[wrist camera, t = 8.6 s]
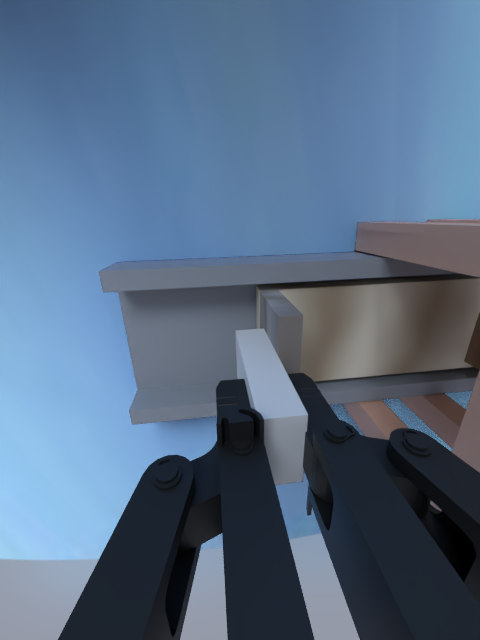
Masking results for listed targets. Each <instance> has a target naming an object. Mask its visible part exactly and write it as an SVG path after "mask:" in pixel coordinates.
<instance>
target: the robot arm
mask: <svg viewBox="0 0 480 640" xmlns="http://www.w3.org/2000/svg"><path fill="white" fill-rule="evenodd" d="M235 331H236V359H237V378H238V379H233V380H222V381H220V382H219V384H218V386H217V387H216V405H217V424H216V425H217V442H216V444H215V446H214V447H213V448H212V449H211V450H210V451H209V452H208V453H207V454H205V455H203V456H201V457H199V458H197V459H195V460H192V461H189V460H188V459H187V458H185V457H183V456H179V455H168V456H165V457H162V458H160V459H157V460H156V461H155V462H153V463H152V464H151V465H149V467H148V468H147V469H146V471H145V472H144V473H143V475H142V477H141V479H140V481H139V483H138V485H137V487H136V489H135V491H134V493H133V495H132V497H131V499H130V501H129V502H128V504H127V506H126V508H125V510H124V512H123V514H122V516H121V518H120V520H119V522H118V524H117V526H116V528H115V530H114V532H113V534H112V536H111V537H110V539H109V541H108V543H107V545H106V547H105V549H104V551H103V553H102V555H101V557H100V559H99V561H98V563H97V565H96V567H95V569H94V571H93V573H92V575H91V576H90V578H89V580H88V582H87V584H86V586H85V588H84V590H83V592H82V594H81V596H80V598H79V600H78V602H77V604H76V606H75V608H74V609H73V612H72V613H71V615H70V617H69V619H68V621H67V623H66V625H65V627H64V629H63V631H62V633H61V635H60V637H59V639H58V640H180V636H181V632H182V628H183V623H184V619H185V615H186V610H187V606H188V601H189V597H190V593H191V588H192V583H193V579H194V575H195V570H196V566H197V561H198V557H199V553H200V548H201V544H203V543H205V542H206V541H208V540H210V539H212V538H214V537H215V536H217V535H219V534H221V533H222V534H223V552H224V553H223V554H224V573H225V594H226V613H227V633H228V640H314V636H313V633H312V628H311V624H310V620H309V617H308V613H307V609H306V605H305V601H304V597H303V593H302V589H301V585H300V581H299V577H298V573H297V570H296V566H295V562H294V558H293V554H292V550H291V546H290V543H289V538H288V534H287V530H286V527H285V523H284V519H283V515H282V511H281V507H280V503H279V499H278V495H277V491H276V487H275V485H280V484H288V483H296V482H303V473H304V471H305V474H306V476H307V479H308V482H309V486H308V497H307V515H311V511H312V508H313V511H314V513H315V516H316V519H317V522H318V524H319V527H320V530H321V533H322V536H323V538H324V541H325V544H326V547H327V549H328V552H329V555H330V558H331V560H332V563H333V566H334V569H335V571H336V574H337V577H338V579H339V582H340V585H341V588H342V591H343V593H344V596H345V599H346V602H347V605H348V608H349V610H350V613H351V616H352V619H353V621H354V624H355V627H356V630H357V633H358V635H359V638H360V640H480V473H479V472H478V471H477V470H475V469H474V468H473V467H471V466H470V465H468V464H467V463H466V462H464V461H463V460H462V459H460V458H459V457H458V456H456V455H455V454H453V453H452V452H451V451H449V450H448V449H447V448H445V447H444V446H443V445H441V444H440V443H438V442H437V441H436V440H434V439H433V438H431V437H430V436H428V435H426V434H425V433H422V432H420V431H417V430H414V429H408V428H399V429H395V430H394V431H392V432H391V434H390V437H389V440H386V439H379V438H372V437H367V436H362V435H360V434H359V433H358V431H357V430H356V429H355V428H354V427H353V426H352V425H350V424H348V423H346V422H345V421H342V420H339V419H338V418H337V416H336V415H335V413H334V412H333V410H332V409H331V407H330V405H329V404H328V402H327V401H326V399H325V398H324V396H323V395H322V393H321V392H320V390H319V389H318V388H317V386H316V384H315V382H314V381H313V379H312V378H310V377H309V376H307V375H306V374H304V373H292V374H287V372H286V371H285V369H284V367H283V365H282V363H281V361H280V359H279V357H278V355H277V353H276V351H275V349H274V347H273V345H272V343H271V341H270V339H269V337H268V336H267V334H266V332H265V330H264V328H263V329H248V330H235ZM431 501H432V502H433V503H435V504H436V505H437V506H438V507H439V508H440V509H441V510H442V511H440V510H438V509H436V508H435V507H433V506H432V505H431V504H430V502H431Z"/></svg>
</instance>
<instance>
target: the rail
mask: <svg viewBox="0 0 480 640" xmlns="http://www.w3.org/2000/svg"><path fill="white" fill-rule="evenodd" d="M459 274H461V273H457V272H452V271H448V270H443V269H438V268H434V267H429V266H425V265H420V264H416V263H411V262H407V261H402V260H397V259H393V258H388V257H384V256H379V255H375V254H370V253H366V252H339V253H316V254H293V255H270V256H248V257H225V258H202V259H179V260H156V261H133V262H117V263H115V264H113V265H111V266H109V267H107V268H105V269H103V270H101V271H99V275H100V280H101V284H102V289H103V292H118V293H119V298H120V303H121V308H122V313H123V319H124V324H125V329H126V334H127V339H128V344H129V349H130V354H131V359H132V364H133V369H134V374H135V379H136V384H137V389H138V390H137V393H136V395H135V398H134V400H133V402H132V405H131V407H130V410H129V413H130V417H131V422H132V425H133V424H143V423H153V422H163V421H173V420H183V419H193V418H203V417H213V416H217V405H216V387H217V386H218V384H219V382H220V381H222V380H233V379H238V378H237V359H236V331H235V330H248V329H256V286H257V285H275V284H294V283H312V282H331V281H349V280H367V279H386V278H404V277H422V276H441V275H459ZM479 371H480V370H479V369H477V368H475V367H466V368H455V369H444V370H433V371H422V372H411V373H400V374H389V375H379V376H368V377H357V378H346V379H335V380H324V381H314V382H315V384H316V386H317V388H318V389H319V390H320V392H321V393H322V395H323V396H324V398H325V399H326V401H327V402H328V404H329V405H333V404H343V403H353V402H363V401H373V400H383V399H393V398H403V397H413V396H423V395H433V394H443V393H453V392H463V391H472V390H473V388H474V385H475V382H476V379H477V377H478V374H479Z"/></svg>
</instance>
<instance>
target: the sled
mask: <svg viewBox="0 0 480 640" xmlns="http://www.w3.org/2000/svg"><path fill="white" fill-rule="evenodd" d="M263 328H264V330H265V332H266V334H267V336H268V337H269V339H270V341H271V343H272V345H273V347H274V349H275V351H276V353H277V355H278V357H279V359H280V361H281V363H282V365H283V367H284V369H285V371H286V372H287V374H292V373H304V374H306V375H307V376H309V377H310V378H312V379H313V381H324V380H335V379H346V378H357V377H368V376H379V375H389V374H400V373H411V372H422V371H433V370H444V369H455V368H466V367H475V368H477V369H479V370H480V278H479V277H475V276H470V275H466V274H459V275H441V276H422V277H404V278H386V279H367V280H349V281H331V282H312V283H294V284H275V285H257V286H256V329H263Z"/></svg>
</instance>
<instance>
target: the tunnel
mask: <svg viewBox="0 0 480 640" xmlns="http://www.w3.org/2000/svg"><path fill="white" fill-rule="evenodd" d="M355 250H356V251H361V252H366V253H370V254H375V255H379V256H384V257H388V258H393V259H397V260H402V261H407V262H411V263H416V264H420V265H425V266H429V267H434V268H438V269H443V270H448V271H452V272H457V273H461V274H466V275H470V276H475V277H479V278H480V219H443V220H427V222H387V221H382V222H358V228H357V236H356V244H355ZM399 399H400V400H401V401H402V402H403V403H404V404H405V405H406V406H407V407H408V408H409V409H410V410H411V411H413V412H414V413H415V414H416V415H417V416H418V417H419V418H420V419H421V420H422V421H423V422H424V423H425V424H426V425H427V426H428V427H429V428H431V429H432V430H433V431H434V432H435V433H436V434H437V435H438V436H439V437H440V438H441V439H442V440H443V441H444V442H445V443H446V444H447V445H449V446H450V447H451V448H452V449H453V450H452V453H453V454H455V455H456V456H458V457H459V458H460V459H462V460H463V461H464V462H466V463H467V464H468V465H470V466H471V467H473V468H474V469H475V470H477V471H478V472H479V473H480V371H479V374H478V377H477V379H476V382H475V385H474V388H473V391H472V394H471V397H470V400H469V403H468V406H467V409H464V408H463V407H462V406H460V405H459V404H458V403H456V402H455V401H454V400H452V399H451V398H450V397H448V396H447V395H445V394H444V393H443V394H433V395H423V396H413V397H403V398H399ZM342 405H343V406H344V408H345V409H346V410H347V412H348V413H349V415H350V416H351V417H352V419H353V420H354V421H355V423H356V424H357V426H358V427H359V428H360V430H361V431H362V433H363V434H364V435H365V436H367V437H372V438H379V439H386V440H389V437H390V434H391V432H392V431H394V430H395V429H399V428H408V427H407V426H406V425H405V424H404V423H403V422H402V421H401V420H400V419H399V418H398V416H397V415H396V414H395V413H394V412H393V411H392V410H391V409H390V408H389V407H388V406H387V405H386V404H385V403H384V402H383V401H382V400H373V401H363V402H353V403H343V404H342ZM408 429H409V428H408ZM430 504H431V505H432V506H433V507H435V508H436V509H438V510H440V511H442V510H441V509H440V508H439V507H438V506H437V505H436V504H435V503H433V502H432V501H431V502H430Z"/></svg>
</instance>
